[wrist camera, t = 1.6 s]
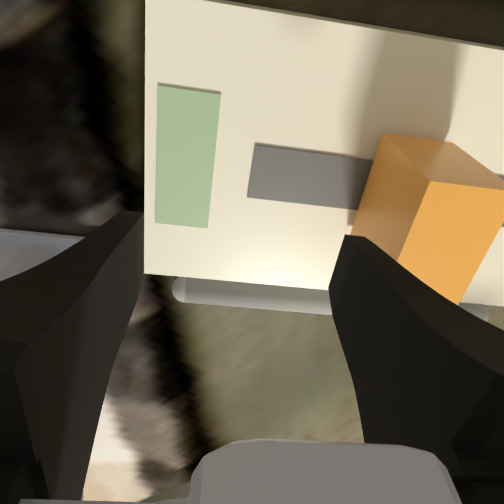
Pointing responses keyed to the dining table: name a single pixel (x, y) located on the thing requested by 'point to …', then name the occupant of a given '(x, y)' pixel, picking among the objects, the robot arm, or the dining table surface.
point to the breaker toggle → (431, 210)
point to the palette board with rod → (268, 296)
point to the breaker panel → (294, 134)
